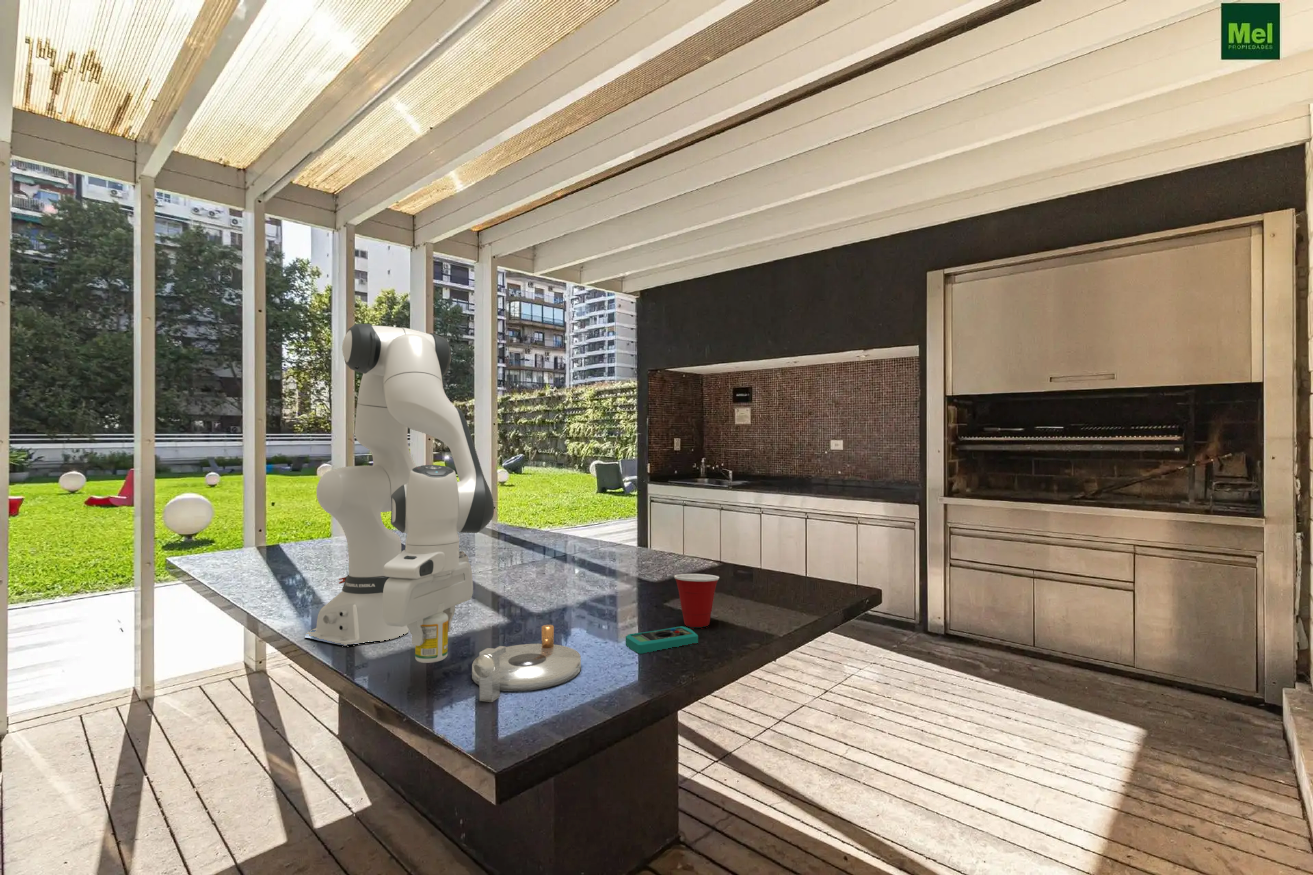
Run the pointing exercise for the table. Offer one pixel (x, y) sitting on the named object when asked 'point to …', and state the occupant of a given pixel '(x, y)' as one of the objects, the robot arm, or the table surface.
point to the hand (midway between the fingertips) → (431, 638)
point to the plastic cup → (696, 597)
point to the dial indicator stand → (489, 672)
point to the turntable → (536, 664)
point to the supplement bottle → (434, 638)
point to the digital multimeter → (660, 639)
